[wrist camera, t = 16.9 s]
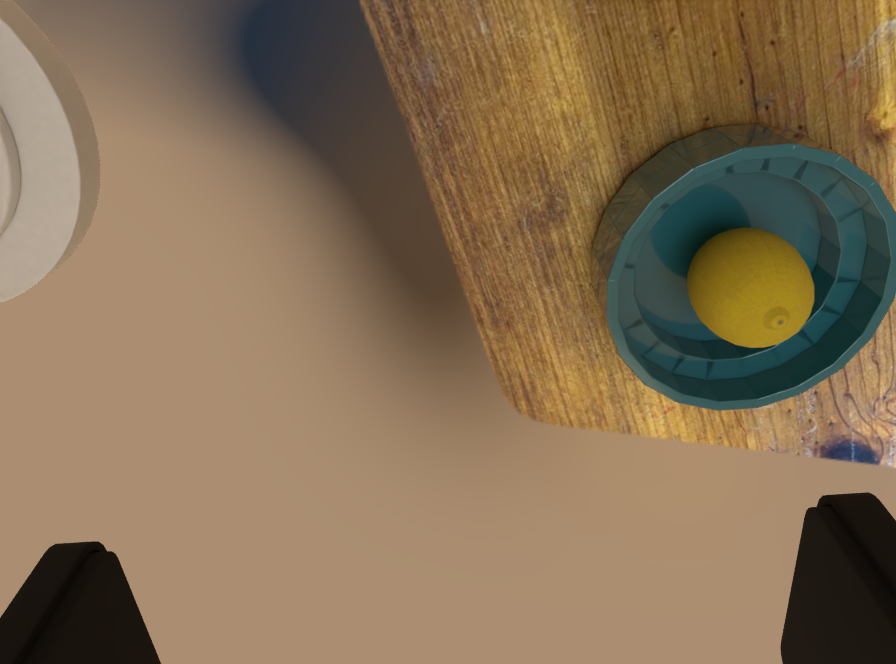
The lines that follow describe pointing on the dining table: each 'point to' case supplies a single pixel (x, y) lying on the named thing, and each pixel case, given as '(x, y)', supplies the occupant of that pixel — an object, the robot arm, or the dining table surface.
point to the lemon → (750, 287)
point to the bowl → (729, 207)
